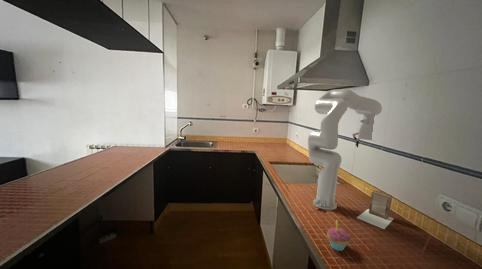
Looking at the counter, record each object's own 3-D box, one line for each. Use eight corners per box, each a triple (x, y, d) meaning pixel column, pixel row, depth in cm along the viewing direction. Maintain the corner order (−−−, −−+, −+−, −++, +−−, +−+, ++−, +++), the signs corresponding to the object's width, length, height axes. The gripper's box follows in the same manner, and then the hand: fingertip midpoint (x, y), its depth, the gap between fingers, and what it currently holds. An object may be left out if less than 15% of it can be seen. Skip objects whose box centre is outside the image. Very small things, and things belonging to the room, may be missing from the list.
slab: (386, 219, 102) (389, 197, 101) (368, 213, 108) (371, 191, 107) (388, 217, 105) (392, 195, 103) (371, 210, 111) (374, 189, 110)
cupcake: (338, 256, 75) (341, 226, 74) (320, 242, 83) (323, 214, 81) (354, 251, 79) (358, 222, 77) (335, 237, 86) (339, 211, 85)
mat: (384, 230, 94) (384, 229, 94) (356, 218, 103) (356, 217, 103) (393, 219, 104) (393, 218, 104) (367, 209, 113) (367, 208, 113)
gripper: (353, 121, 135) (350, 146, 137) (385, 124, 125) (381, 151, 127) (354, 121, 141) (351, 145, 143) (385, 123, 131) (381, 149, 134)
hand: (365, 148), depth 135 cm, fingers open, 9 cm apart
